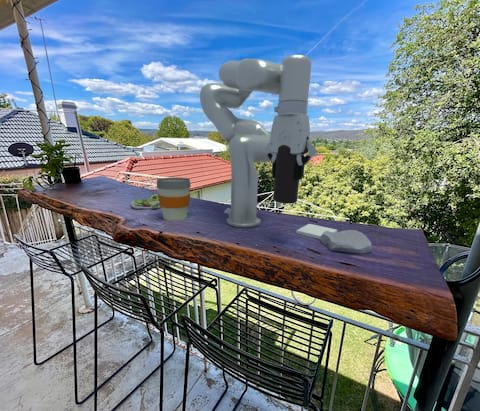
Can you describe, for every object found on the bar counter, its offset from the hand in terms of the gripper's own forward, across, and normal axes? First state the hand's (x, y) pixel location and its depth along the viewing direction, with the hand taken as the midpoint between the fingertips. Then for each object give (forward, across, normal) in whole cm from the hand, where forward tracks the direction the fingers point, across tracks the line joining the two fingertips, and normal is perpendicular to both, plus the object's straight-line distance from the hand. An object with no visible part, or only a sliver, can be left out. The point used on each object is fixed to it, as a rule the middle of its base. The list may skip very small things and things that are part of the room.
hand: (286, 177), depth 68 cm
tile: (+19, +5, +15) cm, 25 cm away
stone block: (+19, +16, +9) cm, 27 cm away
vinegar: (+7, 0, 0) cm, 7 cm away
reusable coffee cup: (+20, -44, -6) cm, 49 cm away
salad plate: (+21, -70, -1) cm, 73 cm away
